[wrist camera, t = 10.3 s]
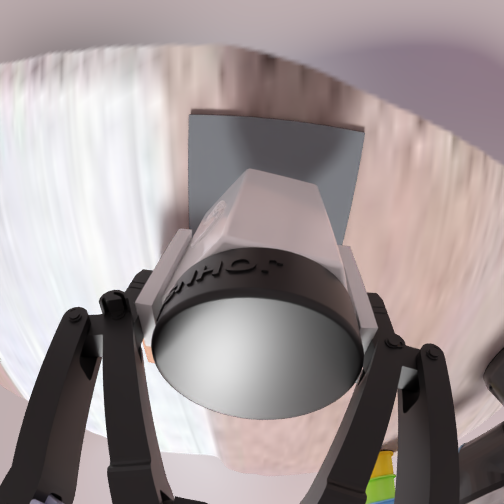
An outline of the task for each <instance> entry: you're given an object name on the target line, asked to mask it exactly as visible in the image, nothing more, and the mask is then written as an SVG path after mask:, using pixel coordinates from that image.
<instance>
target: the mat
mask: <svg viewBox="0 0 504 504" xmlns="http://www.w3.org/2000/svg"><path fill="white" fill-rule="evenodd" d="M364 135H365V133H364V132H360V131H355V130H349V129H344V128H338V127H332V126H326V125H319V124H313V123H305V122H298V121H289V120H280V119H270V118H259V117H246V116H229V115H196V114H190V115H189V139H188V194H189V229H191V230H192V238H193V236H194V234H195V232H196V230H197V228H198V227H199V225H200V223H201V221H202V219H203V217H204V216H205V214H206V213H207V212H208V210H209V209H210V208H211V207H212V206H213V205H214V204H215V203H216V202H217V201H218V199H219V198H220V197H221V196H222V195H223V194H224V193H225V192H226V191H227V190H228V189H229V188H230V187H231V185H232V184H233V183H234V182H235V181H236V180H237V179H238V178H239V177H240V176H241V175H242V174H243V173H244V172H245V171H246V170H247V169H255V170H260V171H264V172H268V173H272V174H276V175H281V176H285V177H289V178H293V179H297V180H300V181H304V182H308V183H312V184H315V185H317V186H318V189H319V191H320V194H321V197H322V200H323V203H324V206H325V209H326V212H327V214H328V217H329V220H330V223H331V227H332V230H333V233H334V236H335V239H336V242H337V245H342V243H343V239H344V235H345V231H346V227H347V222H348V218H349V213H350V209H351V204H352V200H353V195H354V190H355V185H356V180H357V175H358V170H359V164H360V159H361V153H362V148H363V142H364Z"/></svg>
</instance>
